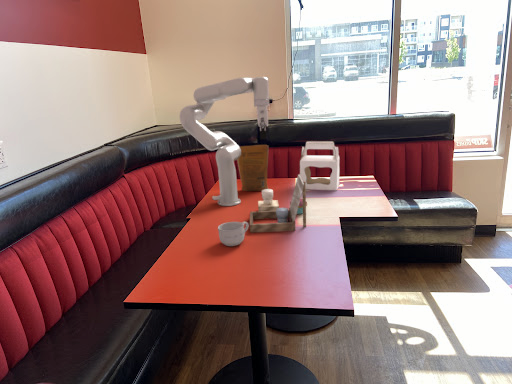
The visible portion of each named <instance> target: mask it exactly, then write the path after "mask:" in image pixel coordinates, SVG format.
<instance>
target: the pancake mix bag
mask: <svg viewBox="0 0 512 384" xmlns="http://www.w3.org/2000/svg"><path fill="white" fill-rule="evenodd" d="M238 146H239V147H240V149H241V156H240V157H239V158H238V159H237V160H236V161H237V167H238V171H239V177H240V182H241V191H244V192H262V190H264V189H269V187H268V167H269V166H268V165H269V164H268V163H269V145H267V144H254V145H242V146H241V145H238Z"/></svg>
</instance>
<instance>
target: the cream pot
mask: <svg viewBox="0 0 512 384" xmlns="http://www.w3.org/2000/svg"><path fill="white" fill-rule="evenodd" d="M261 198H262V199H263V200H262V201H263V204H265V205H270V204H272V203H273V200H274V199H273V198H274V190H273V189H271V188H268V189H264V190H262V191H261Z"/></svg>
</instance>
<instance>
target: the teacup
mask: <svg viewBox="0 0 512 384" xmlns="http://www.w3.org/2000/svg"><path fill="white" fill-rule="evenodd" d="M249 228H250V224H249V222H247V221H242V222H241V221H229V222H224V223H221V224H219V225H218V226H217V231H218V237H219V241H220V242H221V243H222V244H223V245H225V246H227V247H235V246H238V245H241V243H242V242H243V241H244V240H245V234H246V232H247V231H248V230H249Z"/></svg>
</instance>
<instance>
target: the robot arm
mask: <svg viewBox="0 0 512 384" xmlns="http://www.w3.org/2000/svg"><path fill="white" fill-rule="evenodd" d="M269 91H270V90H269V78H268V77H266V76H259V77H238V78H233V79H228V80H226V81H221V82H217V83H213V84H207V85H205V86H201V87H198V88H196V89H195V90H194V91H193V99H194V100H195V102H196V104H190V105H186V106H183V108H182V109H180V111H179V112H180V113H179V121H180V125H181V126H182V128H183V129H184V130H185V131H186V132H187V133H188V134H189V135H191V136H192V137H193V138H194V139H195V140H197V141H198V142H199V143H200V144H201V145H202V146H203V147H204V148H206V150H208V151H211V152H212V151H215V150H217V151H216V153H215V161H216V166H217V172H218V183H219V184H218V185H219V195H217V196H216V195H212V198H211V199H212V200H214V201H217V204H218V205H219V206H222V207H232V206H236V205H240V204H241V202H242V201H241V199H240V198H238V196H239V194H238V183H237V182H238V180H237V169H236V165H235V161H237V159H238V158H239V157H240V156H241V149H240V147H239V146H240V145H239V144H237V142H235V140H233V139H232V138H231V137H230V136H229V135H228V134H226V133H225V132H223V131H221V130H214V131H211V130H210V129H209V128H208V127H207V126H206V125H204V124H202V123H201V122H200V120H203V119H205V118H206V117H207V116H208V113H209V112H210V110H211V108H212V107H213V106H214V104H215V102H218V101H222V100H226V98H228V97H233V96H239V95H243V94H251V93H253V106H254V107H255V108H256V118H257V119H256V120H257V125H258V127H259V140H267V129H266V127H269V112H268V107H270V92H269Z"/></svg>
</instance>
